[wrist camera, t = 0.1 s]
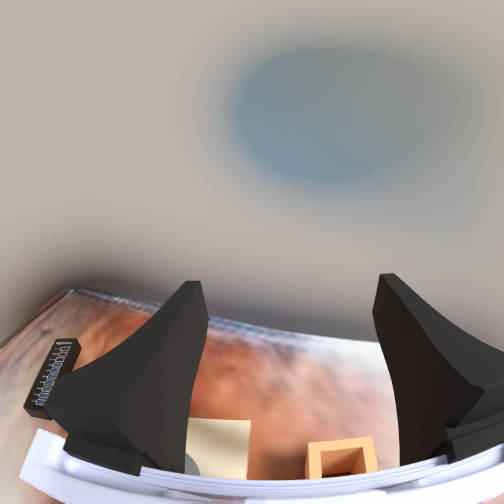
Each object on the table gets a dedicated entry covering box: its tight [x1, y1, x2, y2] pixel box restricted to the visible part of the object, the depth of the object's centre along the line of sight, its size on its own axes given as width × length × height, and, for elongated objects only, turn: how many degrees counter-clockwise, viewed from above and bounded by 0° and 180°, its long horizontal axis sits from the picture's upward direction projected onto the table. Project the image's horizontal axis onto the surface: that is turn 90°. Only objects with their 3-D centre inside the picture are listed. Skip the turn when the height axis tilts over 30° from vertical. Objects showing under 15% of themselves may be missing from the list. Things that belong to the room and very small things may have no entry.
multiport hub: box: [23, 338, 82, 420], centre depth 33 cm, size 4×14×2 cm, turn 5°
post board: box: [185, 418, 251, 502], centre depth 21 cm, size 16×16×6 cm
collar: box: [305, 436, 378, 479], centre depth 19 cm, size 5×5×6 cm
